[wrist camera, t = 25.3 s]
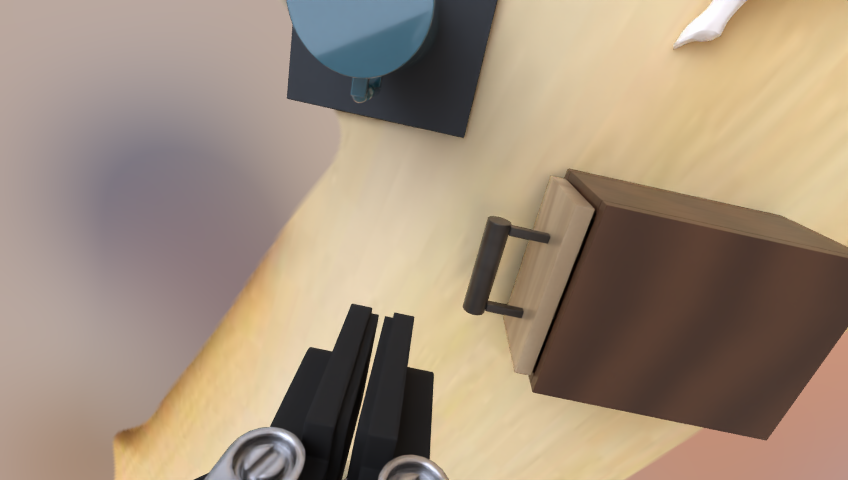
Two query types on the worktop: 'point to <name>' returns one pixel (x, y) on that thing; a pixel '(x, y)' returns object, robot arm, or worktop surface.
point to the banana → (709, 22)
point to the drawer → (533, 269)
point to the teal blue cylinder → (366, 37)
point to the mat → (410, 75)
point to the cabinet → (693, 310)
